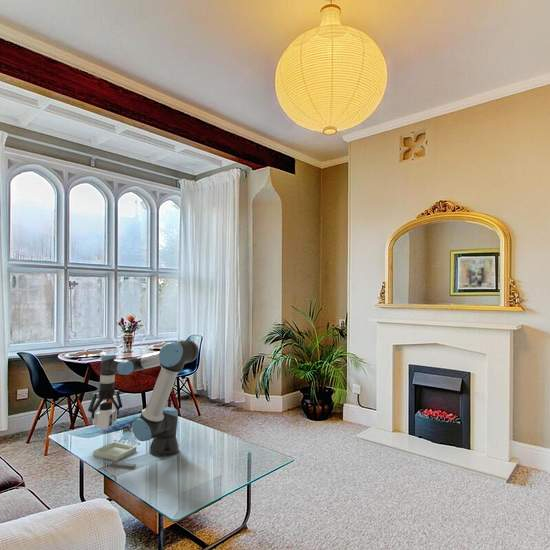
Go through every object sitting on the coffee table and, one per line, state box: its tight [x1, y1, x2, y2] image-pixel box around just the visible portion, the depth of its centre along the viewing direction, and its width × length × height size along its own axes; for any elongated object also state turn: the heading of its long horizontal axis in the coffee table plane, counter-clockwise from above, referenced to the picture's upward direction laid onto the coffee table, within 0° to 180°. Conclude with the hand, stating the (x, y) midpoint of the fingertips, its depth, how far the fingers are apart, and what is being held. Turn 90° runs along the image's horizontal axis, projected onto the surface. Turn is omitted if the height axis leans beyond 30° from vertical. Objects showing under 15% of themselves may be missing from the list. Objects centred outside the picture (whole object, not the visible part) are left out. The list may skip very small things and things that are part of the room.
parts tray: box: [92, 441, 137, 462], centre depth 216 cm, size 15×15×2 cm
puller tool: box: [109, 461, 137, 470], centre depth 201 cm, size 12×2×2 cm, turn 86°
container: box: [93, 401, 115, 430], centre depth 226 cm, size 8×8×13 cm
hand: (104, 422), depth 226 cm, fingers closed on container, 10 cm apart
